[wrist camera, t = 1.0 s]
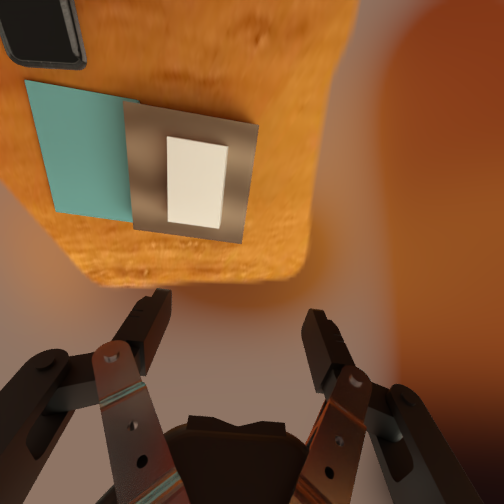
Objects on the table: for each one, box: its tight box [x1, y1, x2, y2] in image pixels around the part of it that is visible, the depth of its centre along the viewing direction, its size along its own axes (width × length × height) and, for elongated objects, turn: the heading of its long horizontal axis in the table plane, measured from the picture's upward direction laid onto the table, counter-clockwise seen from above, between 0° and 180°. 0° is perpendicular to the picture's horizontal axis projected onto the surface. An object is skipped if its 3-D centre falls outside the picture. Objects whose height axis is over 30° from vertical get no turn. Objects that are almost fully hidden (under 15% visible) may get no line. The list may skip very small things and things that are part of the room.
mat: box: [25, 80, 140, 222], centre depth 29 cm, size 15×12×1 cm
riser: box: [123, 101, 259, 244], centre depth 28 cm, size 14×14×4 cm
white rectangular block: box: [167, 136, 228, 229], centre depth 26 cm, size 9×6×2 cm, turn 171°
